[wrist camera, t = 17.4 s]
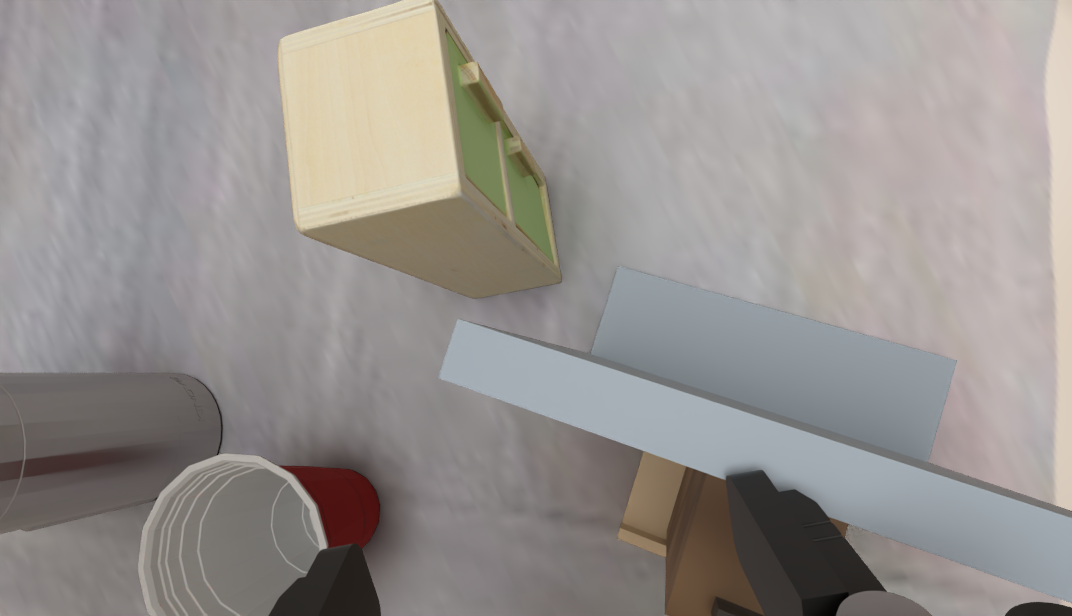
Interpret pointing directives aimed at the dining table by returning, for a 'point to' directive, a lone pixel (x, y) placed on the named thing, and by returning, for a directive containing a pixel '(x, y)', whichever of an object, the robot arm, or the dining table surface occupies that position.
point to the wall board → (770, 421)
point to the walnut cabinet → (707, 553)
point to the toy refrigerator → (412, 154)
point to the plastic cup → (246, 533)
